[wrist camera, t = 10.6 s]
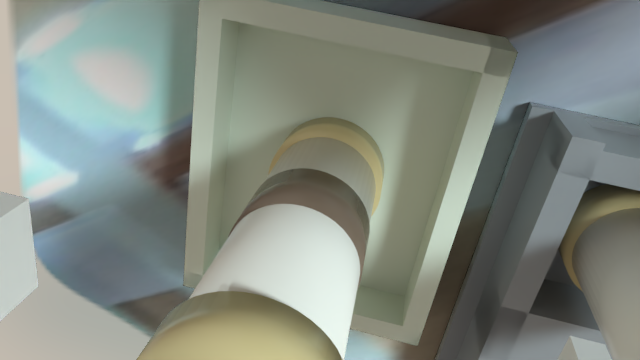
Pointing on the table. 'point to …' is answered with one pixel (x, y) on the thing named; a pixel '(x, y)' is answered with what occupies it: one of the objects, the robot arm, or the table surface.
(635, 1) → the table surface
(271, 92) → the parts tray
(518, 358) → the grey divided tray
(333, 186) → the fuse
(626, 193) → the fuse
